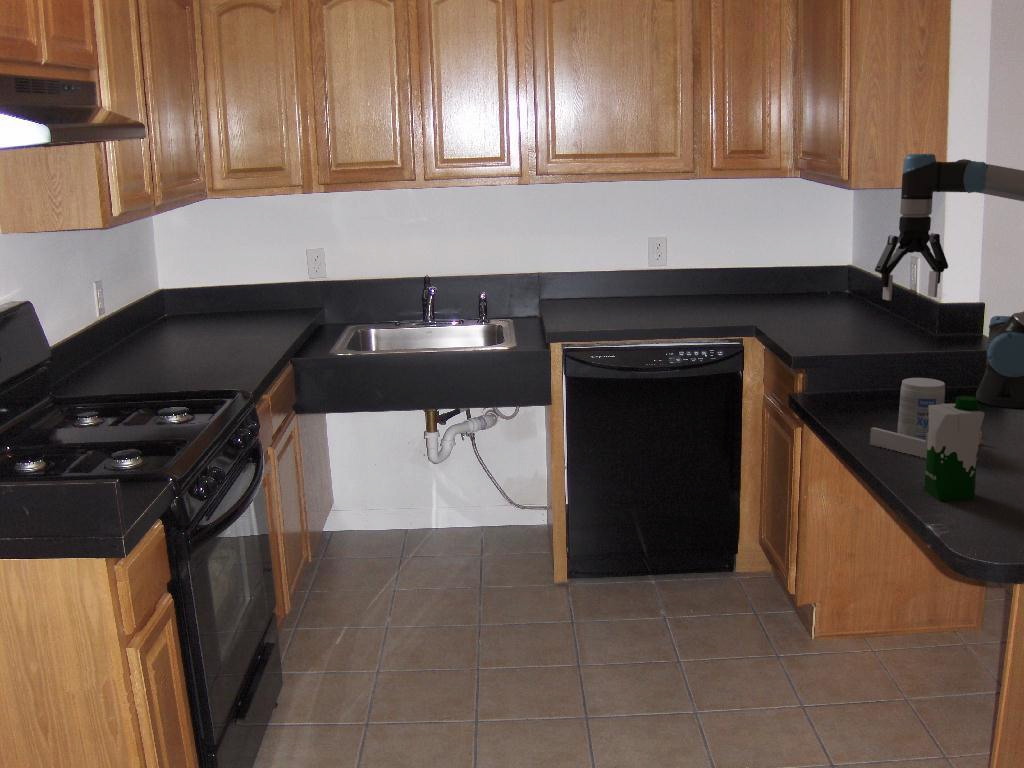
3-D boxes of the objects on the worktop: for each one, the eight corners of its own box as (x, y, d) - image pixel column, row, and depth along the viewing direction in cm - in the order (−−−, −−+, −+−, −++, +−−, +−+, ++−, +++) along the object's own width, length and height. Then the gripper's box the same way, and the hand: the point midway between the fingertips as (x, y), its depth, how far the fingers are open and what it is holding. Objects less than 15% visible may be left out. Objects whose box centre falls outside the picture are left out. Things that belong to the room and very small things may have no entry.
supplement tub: (920, 451, 235) (924, 388, 231) (887, 441, 243) (891, 380, 239) (950, 445, 239) (955, 383, 236) (917, 435, 247) (921, 375, 244)
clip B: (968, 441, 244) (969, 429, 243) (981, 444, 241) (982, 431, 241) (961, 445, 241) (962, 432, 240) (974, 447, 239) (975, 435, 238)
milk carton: (981, 501, 205) (990, 403, 200) (936, 503, 204) (944, 404, 200) (959, 486, 214) (967, 392, 209) (916, 488, 213) (924, 393, 208)
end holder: (869, 444, 243) (871, 419, 241) (909, 432, 251) (911, 409, 250) (928, 460, 231) (930, 434, 229) (968, 447, 239) (970, 422, 238)
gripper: (947, 212, 272) (941, 293, 277) (864, 216, 265) (859, 298, 270) (967, 214, 265) (960, 297, 270) (881, 218, 258) (876, 303, 263)
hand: (909, 298), depth 270 cm, fingers open, 13 cm apart
